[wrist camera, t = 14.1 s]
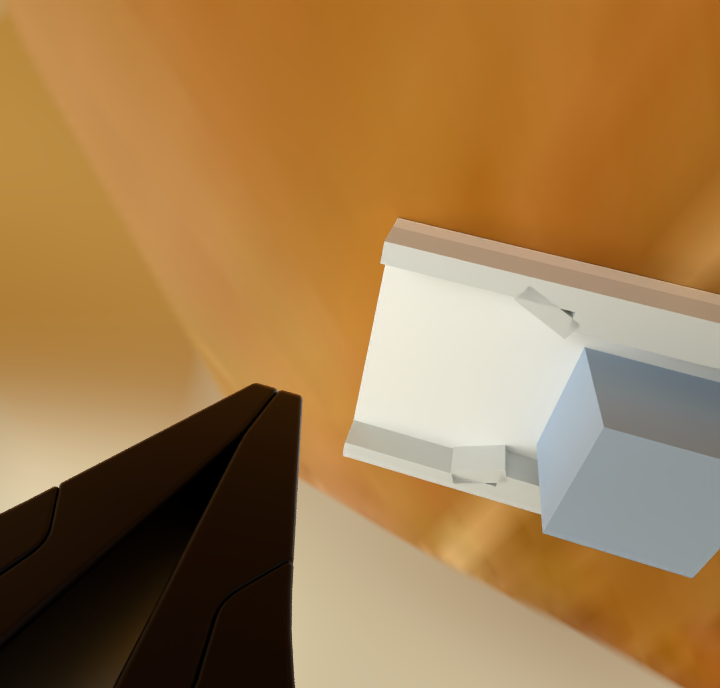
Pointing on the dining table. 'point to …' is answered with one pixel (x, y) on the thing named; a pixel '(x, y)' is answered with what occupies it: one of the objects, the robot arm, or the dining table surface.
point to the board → (502, 353)
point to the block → (634, 463)
